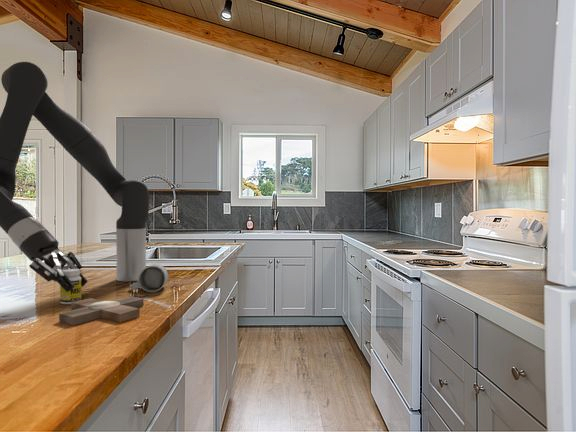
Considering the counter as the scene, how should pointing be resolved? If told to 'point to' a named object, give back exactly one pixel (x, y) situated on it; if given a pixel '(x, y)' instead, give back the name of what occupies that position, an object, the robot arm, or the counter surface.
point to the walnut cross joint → (102, 310)
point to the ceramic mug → (151, 278)
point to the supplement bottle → (76, 291)
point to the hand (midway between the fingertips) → (78, 286)
